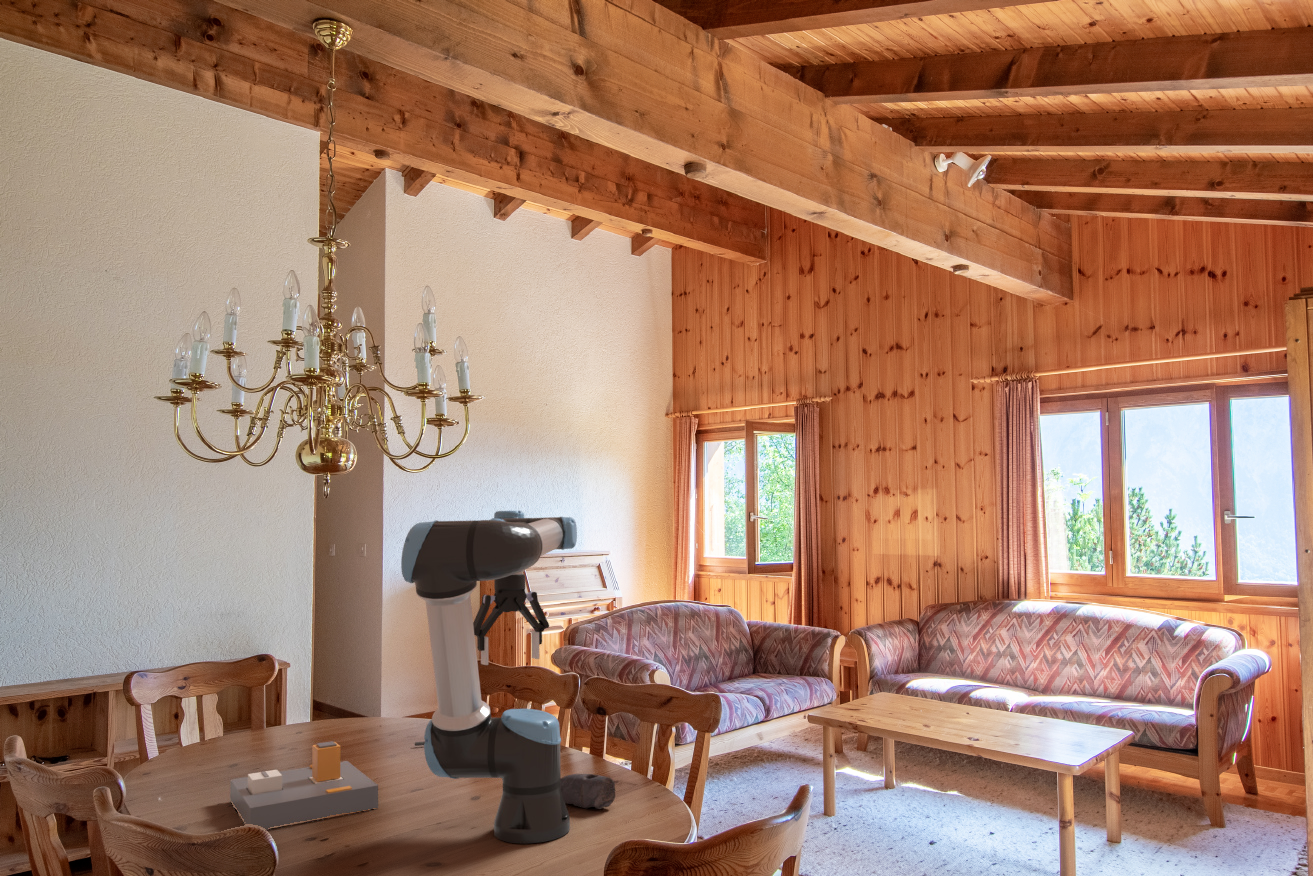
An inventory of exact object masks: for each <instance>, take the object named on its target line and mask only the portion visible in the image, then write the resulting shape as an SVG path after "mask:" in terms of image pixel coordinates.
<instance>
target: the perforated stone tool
mask: <svg viewBox="0 0 1313 876" xmlns="http://www.w3.org/2000/svg"><path fill="white" fill-rule="evenodd" d="M561 792H562V795H563V798H564V801H565V804H569V805H570V804H571V805H574V806H575V807H577V806H578V807H579V808H583V809H589V808H595V809H596V810H602V809H604V808H607V807H610V806H611V805H612V803H614V802H615V799H616V782H615V780H613V778H611V777H610V776H605V775H600V774H599V775H598V774H593V773H572V774H568V775H565V776H562V777H561Z"/></svg>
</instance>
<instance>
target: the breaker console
mask: <svg viewBox="0 0 1313 876" xmlns="http://www.w3.org/2000/svg"><path fill="white" fill-rule="evenodd" d="M279 772H280V774H281V775H282V790H279V791H273V792H267V793H261V794H255V795H251V794H250V793H249V792H248V776H245V777H238V778H233V779H230V784H229V785H230V786H229V787H230V791H229V793H230V794H229V796H230V798H229V800H230V799H231V801H232V802H233V804H234V805H235V807H236V808H237V810H238V811H239V813H240V814H241V816H242V818H243V819H244V822H246V823H245V824H253V825H258V826H261V827H263V828H265V829H267V830H266V831H269V829H268V828H270V827H274V826H280V825H284V824H290V823H294V822H300V821H307V820H312V819H317V818H322V817H327V816H330V815H336V814H342V813H350V812H357V811H363V810H368V809H373V808H378V809H379V785H378V784H377V783H376V782H374V781H373V780H372V779H371V778H369V777H368V776H367V775H366V774H365V773H363V772H362V771H361V770H359V769H358V768H357V767H356V766H354V765H353V764H352V763H351V762H350V761H348V760H343V761H340V777H342V778H343V780H337V781H331V782H325V783H320V784H313V783H312V782H311V781H310V780H309V777H312V764H310V765H309V766H307V767H301V768H293V769H288V770H282V771H279Z"/></svg>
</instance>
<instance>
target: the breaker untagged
mask: <svg viewBox="0 0 1313 876" xmlns="http://www.w3.org/2000/svg"><path fill="white" fill-rule="evenodd" d="M247 777H248V792H249V793H250V794H251V795H255V794H261V793H267V792H273V791H279V790H282V775H281V774H280V771H279V770H278V769H273V770H271V769H270V770H266V771H264V770H263V771H260V772H259V771H257V772H252V773H247Z"/></svg>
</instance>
